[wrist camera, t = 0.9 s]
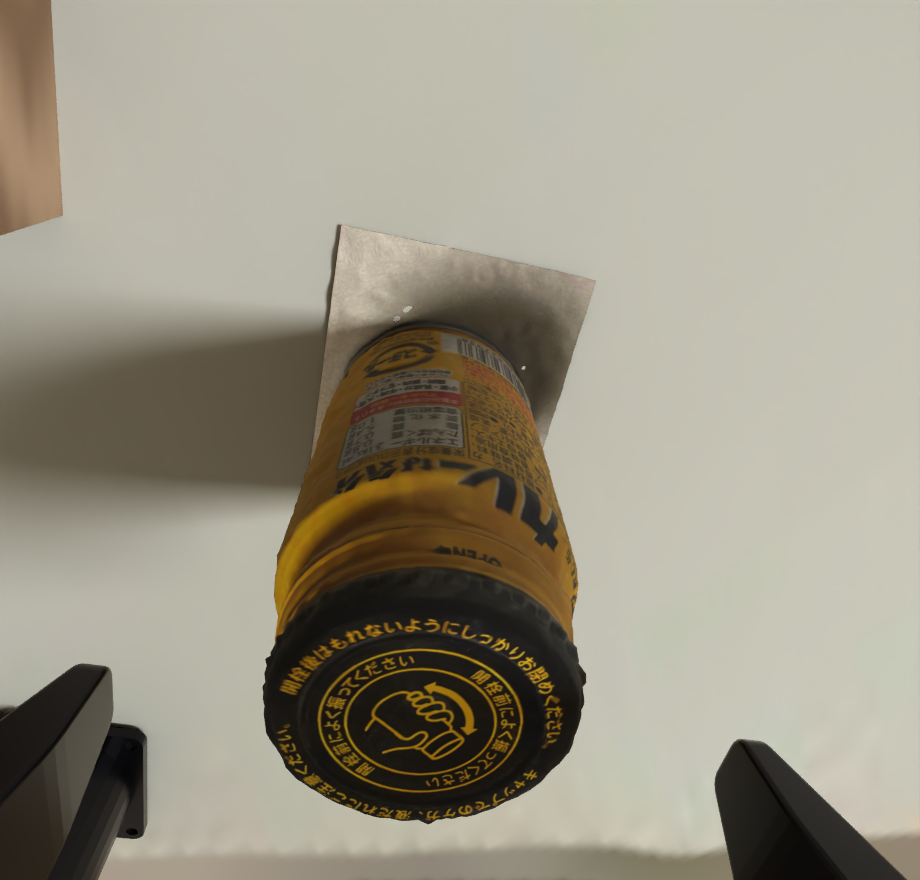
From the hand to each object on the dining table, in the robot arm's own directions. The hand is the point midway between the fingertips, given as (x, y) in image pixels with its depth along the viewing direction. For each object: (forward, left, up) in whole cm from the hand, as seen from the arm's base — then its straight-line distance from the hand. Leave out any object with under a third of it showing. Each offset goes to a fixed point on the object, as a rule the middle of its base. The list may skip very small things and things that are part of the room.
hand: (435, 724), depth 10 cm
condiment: (0, 0, -13) cm, 13 cm away
